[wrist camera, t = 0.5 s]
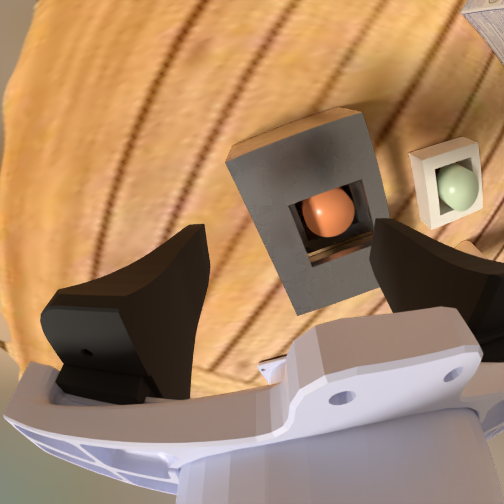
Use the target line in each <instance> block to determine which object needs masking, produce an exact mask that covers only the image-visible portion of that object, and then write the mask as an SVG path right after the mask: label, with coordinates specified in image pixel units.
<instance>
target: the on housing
mask: <svg viewBox="0 0 504 504" xmlns="http://www.w3.org/2000/svg"><path fill="white" fill-rule="evenodd" d="M408 154H409V159H410V164H411V169H412V174H413V179H414V185H415V191H416V197H417V204H418V211H419V218H420V219H421V220H422V221H423V222H424V223H425V224H426V225H427V226H428V227H429V228H430V229H431V230H433V229H435V228H438V227H440V226H442V225H445V224H447V223H450V222H452V221H454V220H457V219H459V218H461V217H464V216H466V215H468V214H471V213H473V212H475V211H478V210H480V209H482V208H483V199H482V178H481V165H480V155H479V146H478V142H476V141H473V140H470V139H468V138H465V137H459V138H456V139H452V140H449V141H446V142H442V143H439V144H436V145H432V146H429V147H426V148H423V149H420V150H416V151H413V152H410V153H408ZM455 162H458V164H459V165H461V166H463V167H464V168H466V169H468V170H470V171H472V172H473V173H474V174H475V175H476V176H477V179H478V182H479V192H478V196H477V199H476V201H475V202H474V204H473V205H472V206H471V207H470V208H469V209H467V210H466V211H462V212H459V211H456V210H454V209H453V208H451V207H450V206H449V205H448V204H446V203H445V202H444V201H442V200H439V198H438V190H437V182H436V175H435V169H437V168H440V167H443V166H446V165H449V164H452V163H455Z"/></svg>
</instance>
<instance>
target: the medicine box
mask: <svg viewBox="0 0 504 504" xmlns="http://www.w3.org/2000/svg"><path fill="white" fill-rule="evenodd" d="M461 14H462V15H463V16H464V17H465V18H466V19H467V20H468V21H469V22H470V24H471V25H472V26H473V27H474V28H475V29H476V30H477V32H478V33H479V34H480V35H481V36H482V38H483V39H484V40H485V41H486V43H487V44H488V45H489V46H490V48H491V49H492V50H493V51H494V53H495V54H496V55H497V57H498V58H499V60H500V61H501V62H502V64H503V65H504V0H468V1H467V2H466V4H465V6H464V7H463V9H462V10H461Z"/></svg>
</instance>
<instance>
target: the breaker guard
mask: <svg viewBox="0 0 504 504" xmlns="http://www.w3.org/2000/svg"><path fill="white" fill-rule="evenodd" d="M225 163H226V165H227V167H228V169H229V171H230V174H231V176H232V178H233V180H234V182H235V184H236V186H237V188H238V190H239V192H240V194H241V196H242V199H243V201H244V203H245V205H246V207H247V209H248V211H249V213H250V215H251V217H252V219H253V222H254V224H255V226H256V228H257V230H258V232H259V234H260V236H261V238H262V241H263V243H264V245H265V247H266V249H267V251H268V253H269V255H270V258H271V260H272V262H273V264H274V266H275V268H276V270H277V273H278V275H279V277H280V279H281V281H282V283H283V286H284V288H285V290H286V292H287V294H288V296H289V298H290V301H291V303H292V305H293V307H294V309H295V312H296V314H297V316H299V315H302V314H305V313H308V312H311V311H314V310H317V309H320V308H323V307H326V306H329V305H332V304H334V303H337V302H340V301H343V300H346V299H349V298H351V297H354V296H357V295H360V294H362V293H365V292H368V291H370V290H373V289H376V288H378V287H380V286H379V284H378V282H377V280H376V278H375V275H374V273H373V270H372V267H371V264H370V261H369V256H370V250H371V244H372V238H373V234H371V235H369V236H366V237H363V238H361V239H358V240H355V241H353V242H350V243H347V244H344V245H342V246H339V247H336V248H333V249H331V250H328V251H325V252H322V253H320V254H317V255H314V256H311V257H308V253H311V252H314V251H317V250H319V249H322V248H325V247H328V246H330V245H333V244H336V243H339V242H341V241H344V240H347V239H350V238H352V237H355V236H358V235H361V234H363V233H366V232H369V231H371V230H372V231H373V232H374V225H375V218H390V216H389V211H388V206H387V201H386V197H385V192H384V188H383V183H382V179H381V175H380V171H379V167H378V163H377V159H376V156H375V152H374V149H373V145H372V142H371V138H370V135H369V132H368V128H367V125H366V122H365V119H364V116H363V113H362V112H360V111H355V110H351V109H346V108H341V107H335V108H332V109H329V110H326V111H323V112H320V113H317V114H314V115H311V116H308V117H305V118H302V119H300V120H297V121H294V122H291V123H289V124H286V125H283V126H280V127H278V128H275V129H273V130H270V131H267V132H265V133H262V134H260V135H257V136H255V137H252V138H250V139H248V140H245V141H243V142H240V143H238V144H236V145H233V146H232V147H231V150H230V152H229V154H228V157H227V159H226V161H225ZM343 185H344V189H345V192H346V194H347V195H348V196H349V198H350V199H351V200H352V202H353V205H354V218H353V221H352V223H351V224H350V226H349V227H348V228H347V229H346V230H345V231H344V232H343V233H341V234H339V235H337V236H333V237H322V236H319V235H316V234H315V233H313V232H312V231H311V230H310V229H309V228H308V226H307V227H304V226H303V224H302V221H301V218H300V216H299V213H298V211H297V208H296V206H295V203H297V202H299V201H302V200H305V199H307V198H310V197H313V196H316V195H318V194H321V193H324V192H327V191H329V190H332V189H335V188H338V187H340V186H343Z"/></svg>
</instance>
